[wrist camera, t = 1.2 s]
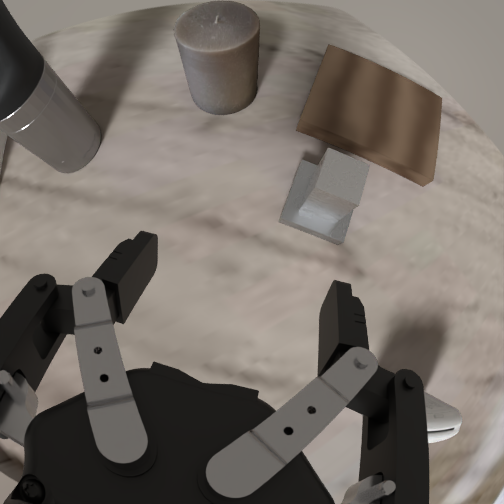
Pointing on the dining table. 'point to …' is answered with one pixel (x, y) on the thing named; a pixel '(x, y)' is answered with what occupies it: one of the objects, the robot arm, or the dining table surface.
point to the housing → (325, 196)
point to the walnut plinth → (374, 115)
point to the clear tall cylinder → (2, 146)
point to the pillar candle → (220, 55)
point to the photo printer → (441, 419)
